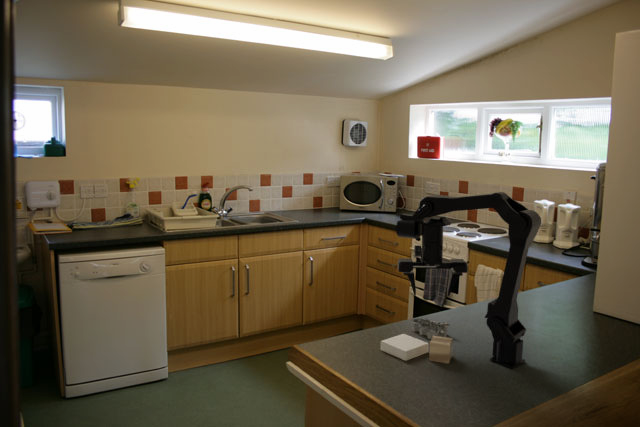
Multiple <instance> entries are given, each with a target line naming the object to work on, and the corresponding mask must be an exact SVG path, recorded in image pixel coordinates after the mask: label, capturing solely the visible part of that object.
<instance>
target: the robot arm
mask: <svg viewBox="0 0 640 427" xmlns="http://www.w3.org/2000/svg"><path fill="white" fill-rule="evenodd" d="M418 205H419V206H418V208H417V209H416V210H415V212H414V213H413V214H408V213H401V214H399V219H398V220H397V222H396V225H395V233H396V236H397V237H398V238H399V237H400V238H406V239H414V240H419V239H420V238H421V245H414V249H413V251H414V253H413V255H414V258H419V259H420V261H413V259H412V258H406V257H405V258H399V259H397V270H398V272H399V273H402V275H403V276H407V278H408V280H409V283H410V285H411V289H412V293H413V295H414V296H417V294H416V293H417V288H416V279H415V272H414V269H417V270H418V269H419V270H420V269H424V270H425V269H430V270H431V269H433V270H448V278H447V279H448V281H447V286H446V287H447V289H446V296H447V297H449V296H450V295H451V292H452V290H453V287H454V286H455V284H456V282H457V281H458V280H459V278H460V277H463V275H464V274H467V273H468V272H469V270H468V269H469V266H468V263H467V261H466V260H464V259H463V258H450V261H443V259H444V258H443V254H444V252H443V251H444V227H447V226H448V227H449V226H451V224H452V223H451V221H450V220H448V219H447V217H446V216H441V215H446V214H450V213H452V212H460V211H474V210H484V209H493V210H494V211H495V212H496V213H497V215H499V217H500V218H501V220H503V221H504V222H505V223H506V224H507V225H508V232H507V234H508V240H509V248H508V254H507V257H506V261H505V262H506V263H505V266H504V270H503V274H502V279H501V282H500V283H501V285H500V289H499V293H498V297H496V298H494V299H493V300H491V301H490V302H488V304H487V309H486V310H487V311H486V314H485V316H484V319H486V326H487V327H488V329H489V330H490V331H491V336H492V339H493V341H492V352H491V353H492V357H490V358H489V360H490V361H491V362H494V363H495V364H500V365H502V366H505V367H506V368H507V367H508V368H509V369H513V368H516V367H517V366H520V365H522V364H524V363H525V362H526V360H525V359H523V348H524V340H523V339H521V338H522V337H524V336H525V334H526V332H527V328H526V327H525V326H524V324H523V322H521V321H520V319H519V305H518V300H517V299H518V294H519V290H520V285H521V283H522V278H523V274H524V268H525V266H526V263H527V262H526V260H527V256H528V254H529V248H530V246H531V245H532V243H533V241H534V240H535V238H536V236H537V234H538V232H539V230H540V227H541V225H542V218H541V217H540V215H539V213H538V212H537V211H535V210H533V209H529V208H527V207H526V206H525V205H523V204H522V203H520V202H518V201H517V200H515V199H513V198H512V197H511V196H509V194H507V193H506V192H504V191H498V192H493V193H485V194H475V195H467V196H466V195H464V196H451V195H443V194H442V195H441V194H435V195H429V196H428V195H427V196H424V197H422V198H421V200H420V202H419V204H418ZM439 216H441V217H440V218H434V217H439ZM426 219H428V221H427V220H426ZM425 220H426V221H425Z"/></svg>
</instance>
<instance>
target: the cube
mask: <svg viewBox="0 0 640 427" xmlns="http://www.w3.org/2000/svg"><path fill="white" fill-rule="evenodd" d="M452 352H453V337H439V336H433V337H432V339H430V341H429V354H428V355H429V356H428V357H429V358H428V361H430V362H437V363H442V364H443V363H444V364H450V362H451V359H452V354H453V353H452Z"/></svg>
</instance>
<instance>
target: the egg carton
mask: <svg viewBox="0 0 640 427" xmlns="http://www.w3.org/2000/svg"><path fill="white" fill-rule="evenodd" d="M410 321H411V328H412V329H411V332H418V333H419V335H420V336H426V338H427V339H428V340H431V339H432V337H433V336H439V337H446V338H448V329H447V328H448V327H450V323H448V322H446V321H442V322H441V321H438V322H437V321H436V320H429V318H427V317H424V318H423V317H420V318H419V317H418V318H416V317H415V318H410Z"/></svg>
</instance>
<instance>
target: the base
mask: <svg viewBox="0 0 640 427" xmlns="http://www.w3.org/2000/svg"><path fill="white" fill-rule="evenodd" d="M429 347H430V342H429V343H428V342H426V341H423V340H421V339H419V338H416V337H413V336H410V335H408V334H406V333H401V334H398V335H395V336H392V337H389V338H385V339H383V340H380V351H382V352H384V353H387V354H389V355H391V356H393V357H396V358H397V359H398V358H399V359H401V360H403V361H409V360H411V359H414V358H417V357H419V356H423V355H424V354H427V353H429Z"/></svg>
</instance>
